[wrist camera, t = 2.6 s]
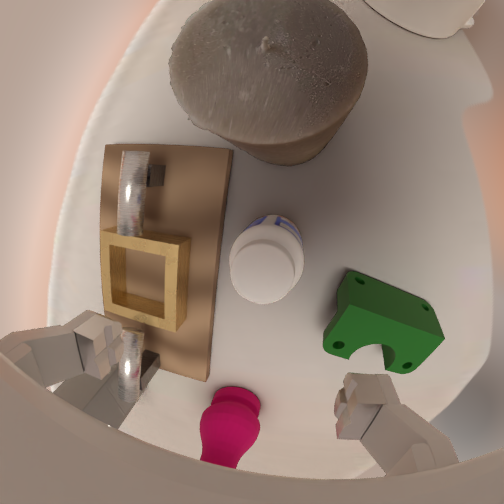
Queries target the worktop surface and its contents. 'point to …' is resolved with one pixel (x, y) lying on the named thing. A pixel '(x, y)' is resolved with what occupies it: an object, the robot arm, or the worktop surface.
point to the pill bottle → (267, 259)
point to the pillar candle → (269, 74)
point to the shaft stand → (162, 256)
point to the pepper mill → (229, 426)
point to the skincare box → (97, 396)
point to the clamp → (382, 323)
